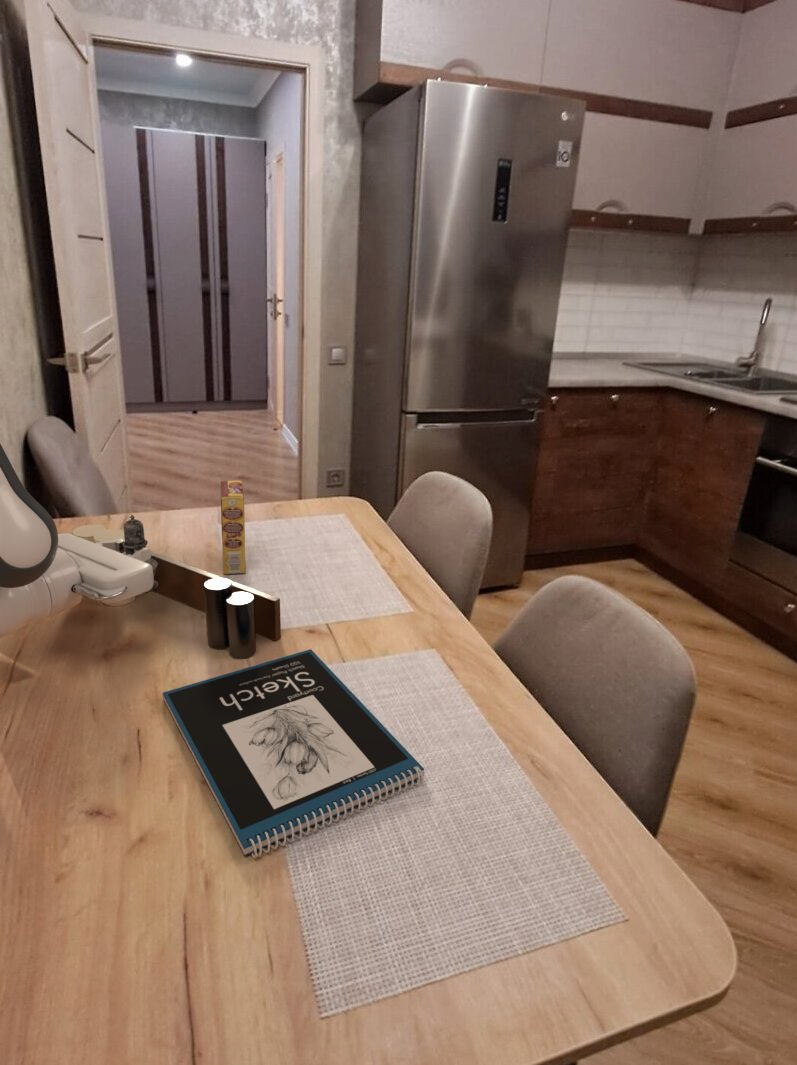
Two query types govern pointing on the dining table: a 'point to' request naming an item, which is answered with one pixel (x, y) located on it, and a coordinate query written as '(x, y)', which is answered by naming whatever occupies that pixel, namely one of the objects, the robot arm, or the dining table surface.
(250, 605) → the dark metal shakers
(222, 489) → the candy box
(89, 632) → the dining table surface
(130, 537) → the dark grey upright piece
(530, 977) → the dining table surface
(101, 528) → the cream shakers
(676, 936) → the dining table surface
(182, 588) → the brown wooden board
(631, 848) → the dining table surface
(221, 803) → the sketchbook
